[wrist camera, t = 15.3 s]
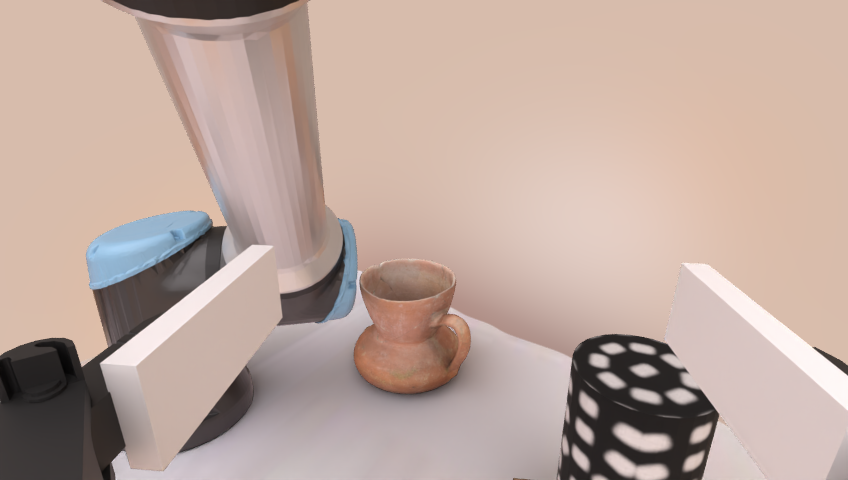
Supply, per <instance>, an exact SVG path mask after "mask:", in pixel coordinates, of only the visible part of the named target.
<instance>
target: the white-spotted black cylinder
mask: <svg viewBox="0 0 848 480" xmlns="http://www.w3.org/2000/svg"><path fill="white" fill-rule="evenodd" d="M718 418H719V413H718V412H717V410H716V409H715V408H714V406H713V405H712V403H711V402H710V401H709V399H708V398H707V397H706V395H705V394H704V393H703V391H702V390H701V389H700V387H699V386H698V384H697V383H696V382H695V380H694V379H693V378H692V376H691V375H690V374H689V372H688V371H687V370H686V368H685V367H684V365H683V364H682V363H681V361H680V360H679V359H678V357H677V356H676V355H675V353H674V352H673V350H672V349H671V348H670V346H669V345H668V344H666V343H663V342H660V341H657V340H653V339H649V338H645V337H639V336H633V335H622V334H612V335H601V336H596V337H593V338H590V339H587V340H585V341H584V342H582V343H580V344H579V345H578V346H577V348H576V349H575V351H574V353H573V358H572V366H571V373H570V381H569V389H568V396H567V404H566V412H565V420H564V427H563V435H562V443H561V450H560V458H559V466H558V473H557V480H702V477H703V473H704V470H705V466H706V462H707V458H708V455H709V451H710V447H711V444H712V440H713V436H714V433H715V429H716V425H717V421H718Z"/></svg>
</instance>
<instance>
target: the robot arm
mask: <svg viewBox="0 0 848 480" xmlns="http://www.w3.org/2000/svg"><path fill="white" fill-rule="evenodd" d="M102 1H103V2H105V3H107V4H109V5H111V6H113V7H115V8H116V9H119V10H121V11H123V12H126V13H128V14H131V15H133V16H135V18H136V20H137V22H138V25H139V27H140V29H141V31H142V34H143V36H144V38H145V40H146V43H147V45H148V47H149V49H150V52H151V54H152V56H153V58H154V61H155V63H156V65H157V67H158V69H159V72H160V74H161V76H162V79H163V81H164V83H165V85H166V88H167V90H168V92H169V94H170V97H171V99H172V101H173V103H174V106H175V108H176V110H177V112H178V114H179V117H180V119H181V121H182V124H183V126H184V128H185V130H186V132H187V135H188V137H189V139H190V142H191V144H192V146H193V148H194V151H195V153H196V155H197V157H198V160H199V162H200V164H201V166H202V169H203V170H204V173H205V175H206V178H207V180H208V182H209V184H210V187H211V189H212V191H213V193H214V196H215V198H216V200H217V202H218V204H219V207H220V209H221V211H222V214H223V216H224V218H225V220H226V223H227V226H219V227H213V226H212V225H213V222H212V219H210V218H209V216H208V214H207V213H205V212H202V211H198V212H195V211H180V212H173V213H167V214H162V215H157V216H152V217H148V218H144V219H140V220H137V221H134V222H130V223H128V224H125V225H122V226H119V227H117V228H114V229H112V230H110V231H108V232H106V233H104V234H102V235H100V236H99V237H97V238H96V239H95V240H94V241H93V242H92V243H91V244H90V245H89V247H88V249H87V253H86V260H87V266H88V272H89V278H90V283H89V286H90V289H92V290H93V294H94V297H95V301H96V305H97V308H98V312H99V316H100V319H101V322H102V326H103V330H104V333H105V337H106V341H107V344H108V348H107V349H106V350H104V351H103V352H102V353H100V354H99V355H98V356H96V357H95V358H94V359H92V360H91V361H90V362H88V363H87V364H86V365H84V366H83V367H81V364H80V361H79V357H78V354H77V351H76V348H75V345H74V343H73V341H72V340H69V339H66V338H49V339H43V340H38V341H34V342H30V343H27V344H24V345H21V346H18V347H16V348H14V349H12V350H9V351H7V352H5V353H3V354H2V355H1V356H0V480H115V473H114V469H113V466H112V463H111V462H112V461H113V460H114V458H115V457H116V456H117V455H118V454H119V453H120V452H121V451H122V450H124V451H126V454H127V458H128V461H129V464H130V468H131V469H141V470H152V471H164V470H165V469H166V468H167V466H168V465H169V464H170V462H171V461H172V460H173V459H174V457H175V456H176V455H177V453H178V452H181V451H184V450H188V449H190V448H193V447H196V446H199V445H201V444H203V443H205V442H208V441H210V440H212V439H213V438H215V437H217V436H219V435H220V434H222V433H223V432H225V431H226V430H228V429H229V428H230V427H232V426H233V425H234V424H235V423H236V422H237V421H238V420H239V419H240V418H241V417H242V416H243V415H244V414H245V412H246V411H247V409H248V408H249V406H250V404H251V402H252V399H253V385H252V379H251V374H250V372H249V370H248V368H247V367H246V364H247V363H248V361H249V360H250V359H251V358H252V356H253V355H254V354H255V352H256V351H257V350H258V349H259V347H260V346H261V345H262V343H263V342H264V341H265V339H266V338H267V337H268V336H269V334H270V333H271V332H272V330H273V329H274V328H275V327H276V326H281V325H291V324H301V323H311V322H315V323H323V322H324V323H325V322H327V321H328V320H334V319H340V318H343V317H345V316H347V315H348V314H349V313H350V312H351V310H352V308H353V305H354V301H355V296H356V279H357V247H356V239H355V233H354V229H353V227H352V225H351V224H350V223H349V222H348V221H347V220H343V219H339V218H337V217H336V215H335V214H334V213H333V212H332V210H330V208H329V207H327V206H326V205H325V201H324V190H323V179H322V167H321V156H320V144H319V133H318V122H317V111H316V99H315V88H314V76H313V66H312V55H311V42H310V30H309V19H308V7H307V2H308V1H310V0H102ZM664 339H665V341H666V342H667V344H668V345H669V346H670V348H671V349H672V350H673V352H674V353H675V355H676V356H677V357H678V359H679V360H680V361H681V363H682V364H683V365H684V367H685V368H686V370H687V371H688V372H689V374H690V375H691V376H692V378H693V379H694V380H695V382H696V383H697V384H698V386H699V387H700V389H701V390H702V391H703V393H704V394H705V395H706V397H707V398H708V399H709V401H710V402H711V403H712V405H713V406H714V408H715V409H716V410H717V412H718V413H719V414H720V416H721V417H722V418H723V420H724V421H725V422H726V424H727V425H728V427H729V428H730V429H731V431H732V432H733V433H734V435H735V436H736V437H737V439H738V440H739V441H740V443H741V444H742V446H743V447H744V448H745V450H746V451H747V452H748V454H749V455H750V456H751V458H752V459H753V460H754V462H755V463H756V465H757V466H758V467H759V469H760V470H761V471H762V473H763V474H764V475H765V477H766V478H767V479H768V480H848V365H846V364H845V363H843V362H842V361H841V360H839V359H837V358H835V357H833V356H831V355H829V354H827V353H825V352H824V351H822V350H820V349H817V348H816V347H811V346H810V345H808V344H807V343H806V342H805V341H803V340H802V339H801V338H800V337H798V336H797V335H796V334H795V333H793V332H792V331H791V330H790V329H788V328H787V327H786V326H785V325H783V324H782V323H781V322H779V321H778V320H777V319H776V318H774V317H773V316H772V315H771V314H769V313H768V312H767V311H766V310H764V309H763V308H762V307H761V306H759V305H758V304H757V303H756V302H754V301H753V300H752V299H750V298H749V297H748V296H747V295H745V294H744V293H743V292H742V291H740V290H739V289H738V288H737V287H736V286H734V285H733V284H732V283H730V282H729V281H728V280H727V279H725V278H724V277H723V276H722V275H720V274H719V273H718V272H717V271H715V270H714V269H713V268H712V267H710V266H709V265H708V264H692V263H681V267H680V272H679V277H678V281H677V285H676V289H675V294H674V298H673V302H672V307H671V311H670V316H669V320H668V324H667V329H666V333H665V338H664Z"/></svg>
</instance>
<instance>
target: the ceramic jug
mask: <svg viewBox="0 0 848 480" xmlns="http://www.w3.org/2000/svg"><path fill="white" fill-rule="evenodd" d="M455 286H456V277H455V274H454V273H453V272H452V271H451V270H450V269H449V268H448V267H446V266H443V265H442V264H440V263H437V262H433V261H429V260H421V259H394V260H389V261H385V262H382V263H381V264H380V265H379V266H376V265H373V266H371V267H369V268H367V269H366V270H365V271H364V272H363V273H362V274H361V276H360V290H361V294H362V298H363V300H364V303H365V305H366V308H367V310H368V312H369V315H370V317H371V319H372V321H373V323H374V324H373V325H371V326H369V327H367V328H366V329H365V331H364V332H363V333H362V334H361V336H360V337H359V339H358V340H357V343H356V345H355V349H354V361H355V365H356V367H357V369H358V371H359V373H360V374H361V375H362V377H363V378H364V379H365V380H366V381H367V382H369V383H370V384H372V385H374V386H375V387H377V388H380V389H382V390H385V391H389V392H394V393H401V394H414V393H421V392H426V391H430V390H433V389H435V388H438V387H440V386H442V385H444V384H446V383H447V382H448V381H449V380H451V379H452V378H453V377H454V376H456V375H457V373H458V370H459V368H460V365H461V363H462V362H463V361H464V359H465V358H466V356H467V354H468V352H469V348H470V343H471V336H470V330H469V327H468V325H467V323H466V322H465V321H464V320H463V319H462V318H460V317H459V316H457V315H453V314H447V313H448V310H449V308H450V305H451V302H452V299H453V295H454V291H455ZM447 326H449V327H451V328H453V329H454V330H455V332H456V335H457V336H456V335H455V333H454V332H453V331H452V330H451V329H450V328H448V327H447Z"/></svg>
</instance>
